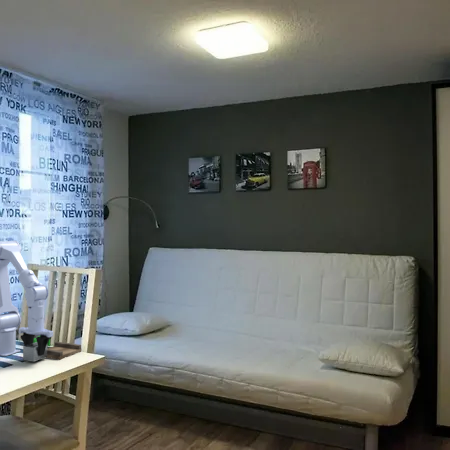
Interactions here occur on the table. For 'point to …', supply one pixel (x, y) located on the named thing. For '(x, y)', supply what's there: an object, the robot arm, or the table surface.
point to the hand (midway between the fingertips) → (35, 354)
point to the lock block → (32, 352)
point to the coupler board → (62, 350)
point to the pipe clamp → (36, 341)
